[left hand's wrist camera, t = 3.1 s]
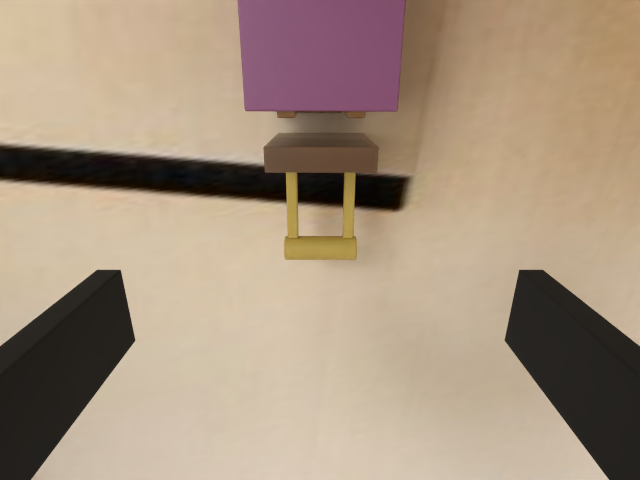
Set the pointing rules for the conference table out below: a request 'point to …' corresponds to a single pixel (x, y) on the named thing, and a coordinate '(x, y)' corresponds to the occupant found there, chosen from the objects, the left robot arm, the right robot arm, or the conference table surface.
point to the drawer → (320, 157)
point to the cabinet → (321, 54)
